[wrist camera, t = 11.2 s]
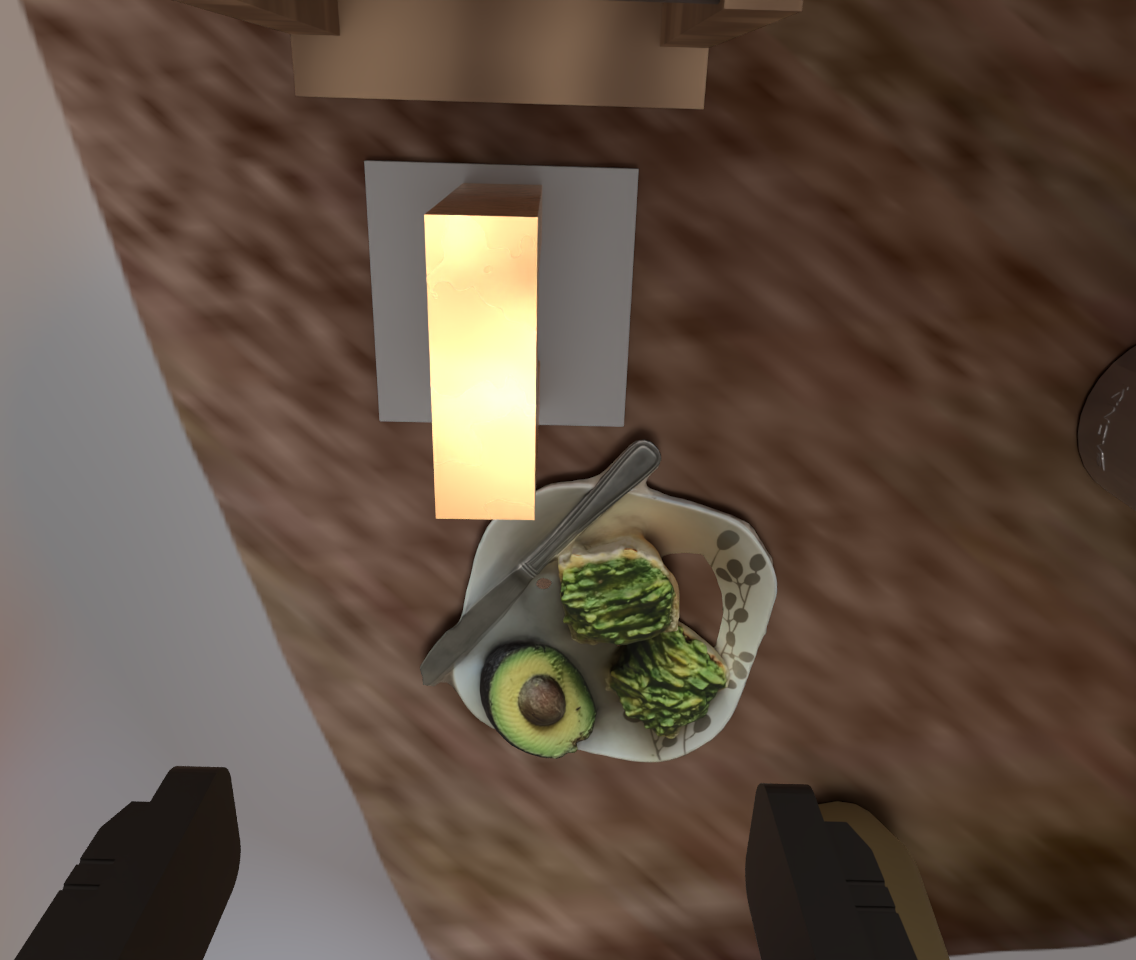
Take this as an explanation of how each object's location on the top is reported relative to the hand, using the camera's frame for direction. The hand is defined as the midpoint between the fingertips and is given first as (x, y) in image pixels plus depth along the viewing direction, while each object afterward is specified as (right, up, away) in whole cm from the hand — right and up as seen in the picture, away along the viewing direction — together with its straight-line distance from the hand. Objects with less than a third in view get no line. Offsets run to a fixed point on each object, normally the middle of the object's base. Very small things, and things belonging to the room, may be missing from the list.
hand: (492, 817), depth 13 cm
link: (-2, +13, +27) cm, 30 cm away
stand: (-2, +25, +23) cm, 34 cm away
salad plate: (+3, -3, +35) cm, 36 cm away
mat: (-2, +14, +28) cm, 31 cm away
